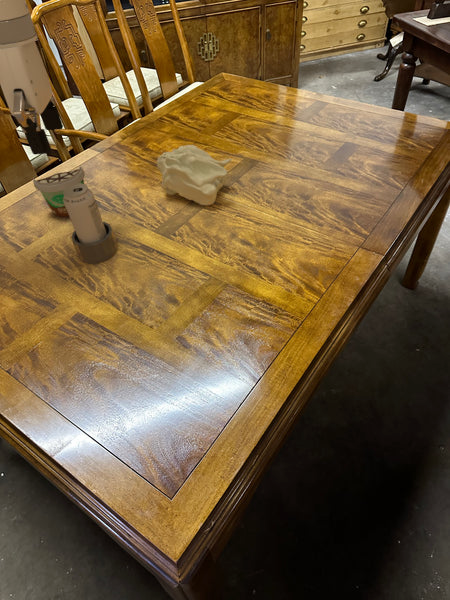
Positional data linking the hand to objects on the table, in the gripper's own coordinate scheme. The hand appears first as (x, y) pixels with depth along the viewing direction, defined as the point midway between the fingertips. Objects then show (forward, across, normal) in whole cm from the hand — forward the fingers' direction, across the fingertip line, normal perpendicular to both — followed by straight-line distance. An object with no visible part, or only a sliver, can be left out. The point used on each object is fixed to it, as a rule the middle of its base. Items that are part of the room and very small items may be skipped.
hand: (49, 140), depth 75 cm
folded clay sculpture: (+26, -19, +25) cm, 41 cm away
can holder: (+26, 0, +2) cm, 26 cm away
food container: (+26, -17, -7) cm, 32 cm away
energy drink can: (+26, 0, +2) cm, 26 cm away
